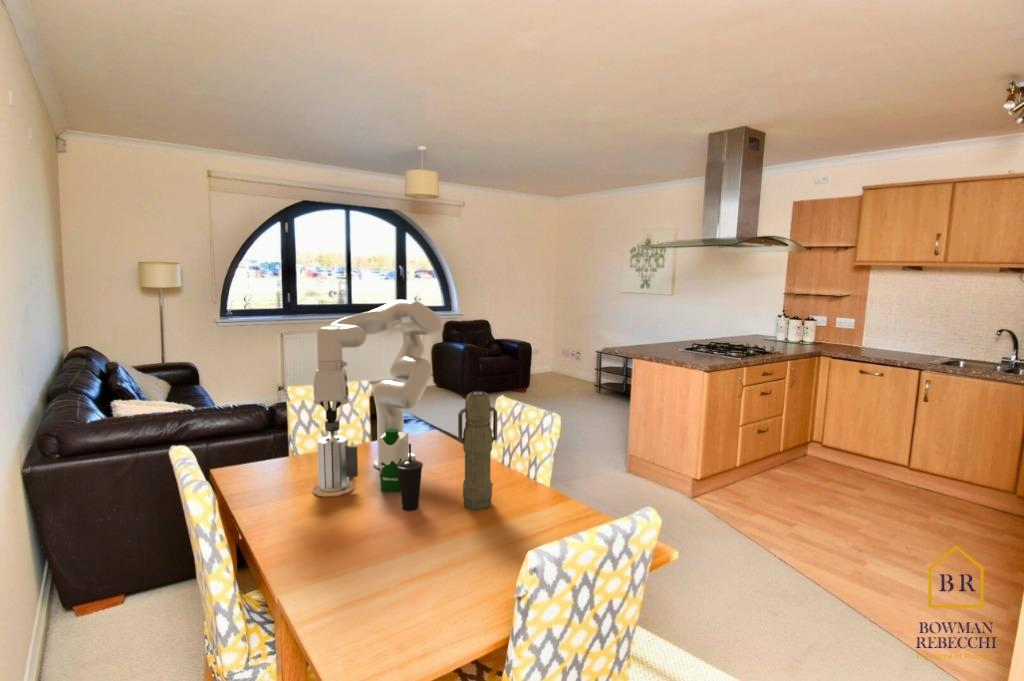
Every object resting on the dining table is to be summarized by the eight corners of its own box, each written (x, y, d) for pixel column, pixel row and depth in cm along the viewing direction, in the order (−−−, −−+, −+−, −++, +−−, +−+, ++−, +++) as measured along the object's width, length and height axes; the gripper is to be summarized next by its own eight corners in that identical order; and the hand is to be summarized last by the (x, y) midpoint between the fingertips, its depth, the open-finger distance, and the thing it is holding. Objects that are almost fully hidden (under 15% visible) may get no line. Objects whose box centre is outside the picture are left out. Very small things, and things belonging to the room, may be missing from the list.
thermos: (454, 501, 165) (454, 391, 161) (490, 496, 170) (490, 388, 166) (463, 513, 157) (463, 397, 153) (500, 506, 162) (501, 394, 158)
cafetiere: (362, 481, 181) (361, 433, 179) (351, 497, 168) (350, 445, 166) (321, 481, 180) (319, 433, 178) (306, 497, 167) (304, 445, 166)
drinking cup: (417, 514, 156) (417, 448, 154) (393, 512, 158) (392, 446, 155) (427, 504, 163) (426, 441, 161) (403, 501, 165) (402, 439, 163)
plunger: (342, 474, 176) (341, 419, 174) (338, 479, 171) (336, 423, 169) (329, 474, 176) (327, 419, 174) (324, 479, 171) (322, 423, 169)
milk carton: (377, 492, 172) (376, 432, 170) (386, 481, 181) (385, 424, 179) (403, 493, 171) (402, 433, 169) (411, 482, 180) (411, 425, 178)
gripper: (357, 364, 173) (358, 419, 175) (311, 363, 173) (312, 418, 175) (350, 367, 166) (351, 425, 168) (302, 367, 165) (303, 424, 167)
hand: (331, 421), depth 171 cm, fingers closed
